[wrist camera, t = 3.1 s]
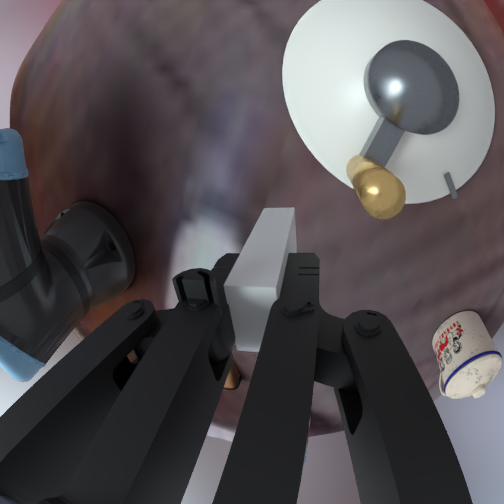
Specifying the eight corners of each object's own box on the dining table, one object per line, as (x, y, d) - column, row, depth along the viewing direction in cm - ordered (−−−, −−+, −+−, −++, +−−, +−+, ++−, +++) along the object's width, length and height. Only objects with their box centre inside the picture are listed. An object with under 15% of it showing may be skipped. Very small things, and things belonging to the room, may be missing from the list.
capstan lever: (383, 31, 15) (411, 2, 9) (455, 82, 16) (503, 78, 9) (315, 162, 23) (317, 185, 16) (389, 205, 23) (416, 244, 16)
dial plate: (246, 131, 25) (242, 133, 23) (335, -38, 13) (336, -45, 12) (429, 235, 25) (434, 242, 24) (508, 81, 14) (516, 81, 13)
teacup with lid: (446, 305, 29) (476, 373, 19) (490, 309, 27) (521, 367, 17) (412, 364, 35) (424, 427, 25) (455, 364, 33) (471, 420, 23)
